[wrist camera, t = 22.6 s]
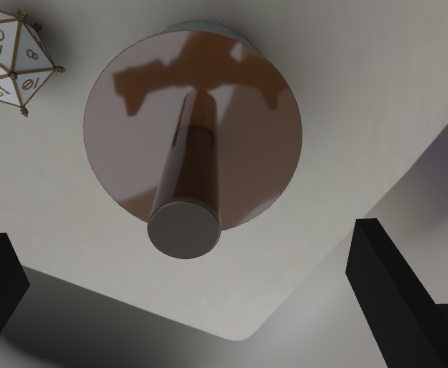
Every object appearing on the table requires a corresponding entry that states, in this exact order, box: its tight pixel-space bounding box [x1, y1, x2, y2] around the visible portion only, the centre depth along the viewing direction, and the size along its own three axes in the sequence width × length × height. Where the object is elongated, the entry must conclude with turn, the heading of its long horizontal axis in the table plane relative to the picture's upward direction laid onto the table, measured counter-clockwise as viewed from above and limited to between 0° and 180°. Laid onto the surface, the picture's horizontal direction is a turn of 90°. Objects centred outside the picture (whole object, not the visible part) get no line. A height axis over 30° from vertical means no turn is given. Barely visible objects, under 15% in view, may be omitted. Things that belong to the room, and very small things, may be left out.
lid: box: [83, 29, 302, 259], centre depth 19 cm, size 14×14×10 cm
